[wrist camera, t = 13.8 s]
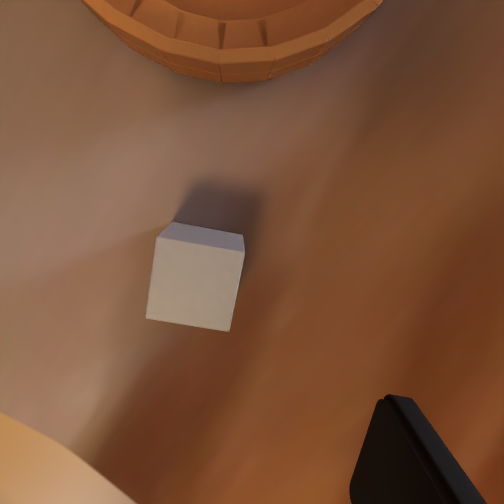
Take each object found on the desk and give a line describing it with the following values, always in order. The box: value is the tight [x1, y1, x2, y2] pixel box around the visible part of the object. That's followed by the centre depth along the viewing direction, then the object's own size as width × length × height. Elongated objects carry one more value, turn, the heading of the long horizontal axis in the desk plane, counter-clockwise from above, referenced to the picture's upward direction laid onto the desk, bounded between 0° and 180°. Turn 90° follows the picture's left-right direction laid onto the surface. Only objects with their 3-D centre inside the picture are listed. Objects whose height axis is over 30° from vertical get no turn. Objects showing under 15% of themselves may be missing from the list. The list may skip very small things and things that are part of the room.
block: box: [145, 222, 245, 332], centre depth 20 cm, size 4×4×4 cm
